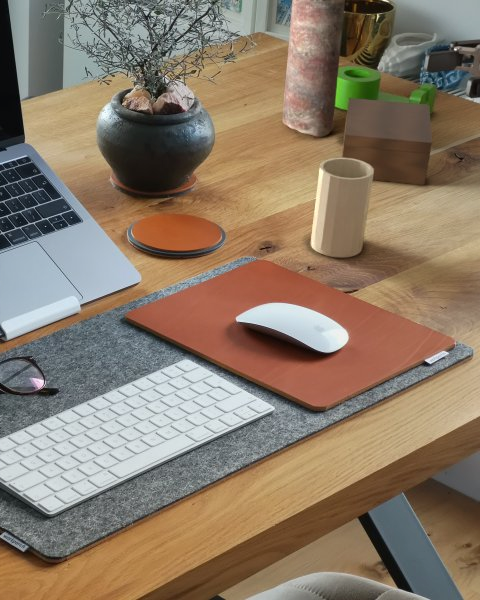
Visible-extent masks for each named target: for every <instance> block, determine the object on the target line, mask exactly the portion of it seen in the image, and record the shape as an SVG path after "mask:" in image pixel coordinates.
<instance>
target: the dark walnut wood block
mask: <svg viewBox="0 0 480 600" xmlns="http://www.w3.org/2000/svg"><path fill="white" fill-rule="evenodd" d="M342 139H343V140H342V143H343V145H342V153H341V158H352V159H357V160H360V161H363V162H365V163H367V164H369V165H371V166H372V168H373V169H374V174H373V181H379V182H389V183H390V182H391V183H401V184H409V185H419V186H425V184H426V178H427V172H428V168H429V167H428V166H429V160H430V155H431V149H432V145H433V142H432V141H433V140H432V125H431V114H430V108H429V105H425V104H413V103H402V102H390V101H378V100H367V99H355V98H349V101H348V109H347V110H346V115H345V124H344V131H343V138H342Z"/></svg>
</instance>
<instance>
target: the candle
mask: <svg viewBox="0 0 480 600" xmlns="http://www.w3.org/2000/svg"><path fill="white" fill-rule="evenodd" d="M345 5H346V0H292V1H291V12H290V13H291V14H290V26H289V37H288V39H289V40H288V50H287V60H286V72H285V82H284V94H283V104H282V105H283V107H282V123H283V124H284V125H285V126H287V127H289V128H290V129H291V130H295V131H297V132H299V133H301V134H306V135H310V136H313V137H317V138H318V137H325V136H327V135H328V134H330V133H331V132H332V131H333V130H334V129H333V128H334V121H335V120H334V119H335V111H336V107H335V100H336V89H337V77H338V68H340V67H339V66H340V57H341V45H342V36H343V26H344V16H345V15H344V14H345Z"/></svg>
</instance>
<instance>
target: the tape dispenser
mask: <svg viewBox="0 0 480 600" xmlns="http://www.w3.org/2000/svg"><path fill="white" fill-rule="evenodd" d="M381 80H382V74H381V73H380V72H379V71H378V70H376V69H373V68H370V67H367V66H366V67H365V66H361V65H360V66H358V65H346V66H340V67H338V77H337V89H336V100H335V108H338V109H340V110H344V111H347V109H348V101H349V98H355V99H367V100H378V101H390V102H402V103H413V104H425V105H429V108H430V115H432V114H433V110H434V105H435V101H436V94H437V88H438V87H437V85H436V84H432V83H427V82H424V83H422V84H420V86H419V88H416V89H414V90H413V91H412V92H411V94H410V96H409V97H406V96H401V95H397V94H391V93H386V92H382V91H380V86H381Z"/></svg>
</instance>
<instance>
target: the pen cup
mask: <svg viewBox="0 0 480 600" xmlns="http://www.w3.org/2000/svg"><path fill="white" fill-rule="evenodd" d="M373 174H374V169H373V168H372V166H371V165H369V164H367V163H365V162H363V161H360V160H357V159H352V158H342V157H332V158H328V159H326V160H323V161H322V162H321V163H320V164H319V171H318V177H317V186H316V195H315V203H314V212H313V220H312V228H311V236H310V246H311V248H312V249H313V250H314V251H315V252H317V253H319V254H321V255H323V256H327V257H332V258H339V259H340V258H341V259H342V258H351V257H355V256H357V255H359V254H360V253H361V252H362V251H363V246H364V239H365V235H366V234H365V233H366V227H367V220H368V213H369V207H370V200H371V195H372V194H371V193H372V187H373V181H374V180H373Z"/></svg>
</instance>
